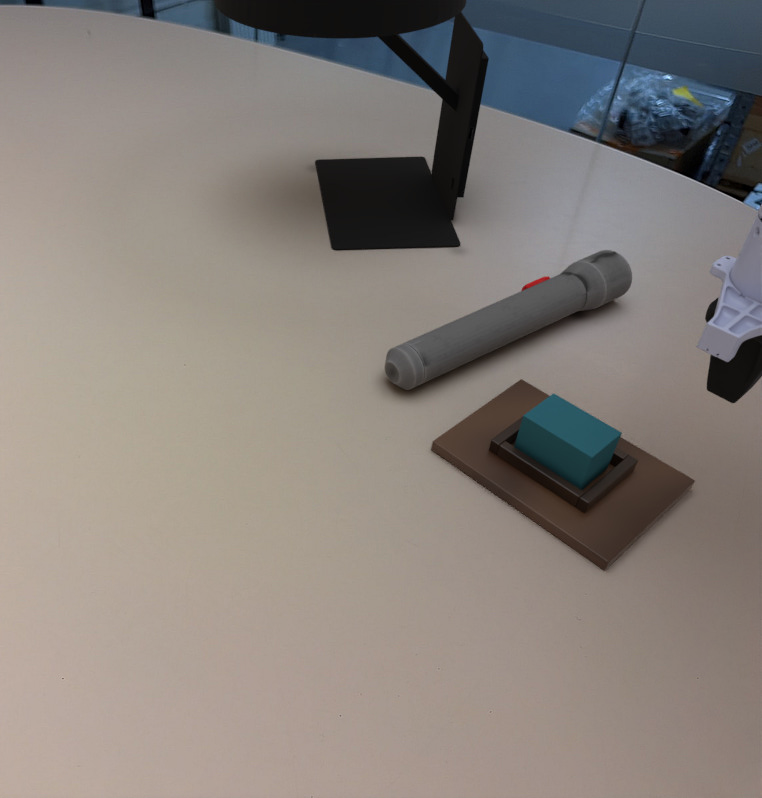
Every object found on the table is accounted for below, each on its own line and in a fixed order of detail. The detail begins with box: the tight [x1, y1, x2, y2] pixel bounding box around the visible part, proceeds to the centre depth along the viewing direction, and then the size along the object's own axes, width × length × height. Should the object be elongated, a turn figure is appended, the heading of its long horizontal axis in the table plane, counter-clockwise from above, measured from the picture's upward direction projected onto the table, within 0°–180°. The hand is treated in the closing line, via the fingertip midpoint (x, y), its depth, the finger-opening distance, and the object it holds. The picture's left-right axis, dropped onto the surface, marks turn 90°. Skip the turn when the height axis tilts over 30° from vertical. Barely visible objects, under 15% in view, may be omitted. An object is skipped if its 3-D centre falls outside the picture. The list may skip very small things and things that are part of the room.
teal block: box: [514, 392, 623, 490], centre depth 63 cm, size 6×4×4 cm, turn 39°
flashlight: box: [384, 249, 633, 391], centre depth 76 cm, size 5×28×5 cm
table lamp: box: [213, 0, 490, 251], centre depth 85 cm, size 26×28×40 cm
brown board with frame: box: [430, 378, 696, 571], centre depth 65 cm, size 16×12×2 cm
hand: (724, 392), depth 58 cm, fingers closed
